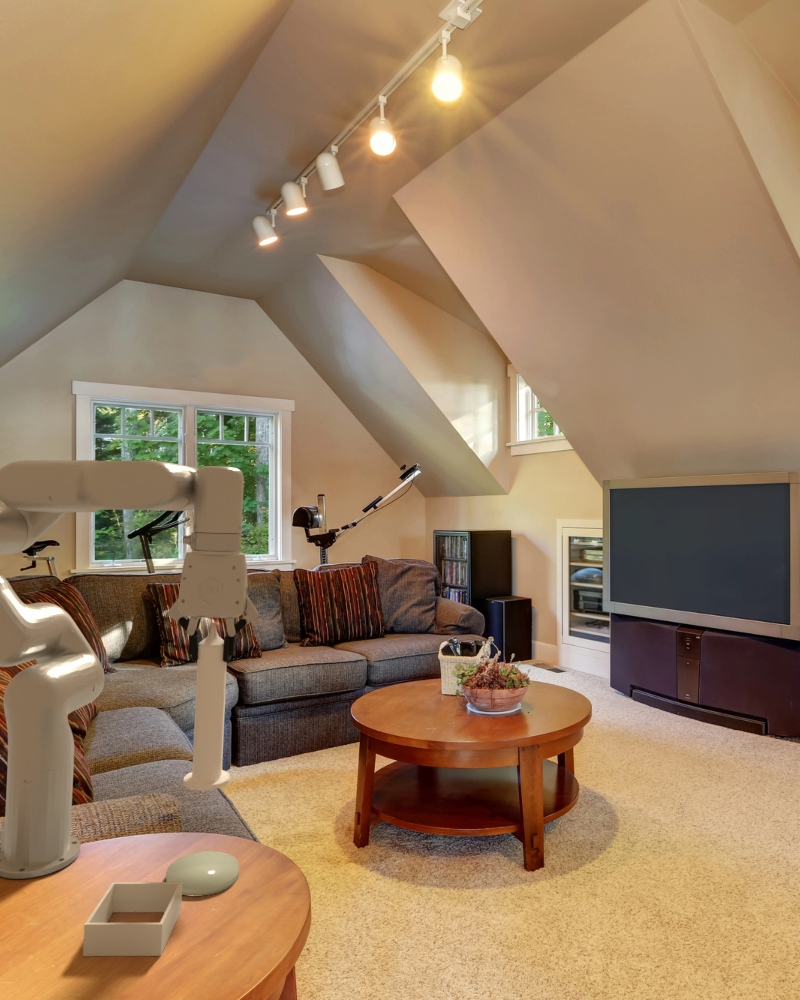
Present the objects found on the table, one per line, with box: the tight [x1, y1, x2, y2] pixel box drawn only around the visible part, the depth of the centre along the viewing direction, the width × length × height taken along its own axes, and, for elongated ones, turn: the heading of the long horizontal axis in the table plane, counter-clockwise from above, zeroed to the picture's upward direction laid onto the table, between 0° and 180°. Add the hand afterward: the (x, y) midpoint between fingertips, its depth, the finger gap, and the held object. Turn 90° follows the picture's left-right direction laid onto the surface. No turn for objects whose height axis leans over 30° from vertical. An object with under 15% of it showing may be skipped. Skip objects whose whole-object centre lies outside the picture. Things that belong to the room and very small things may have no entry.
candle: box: [182, 622, 231, 792], centre depth 105 cm, size 7×7×25 cm
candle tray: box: [82, 881, 183, 957], centre depth 91 cm, size 10×10×4 cm
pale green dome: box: [165, 850, 240, 896], centre depth 105 cm, size 11×11×1 cm
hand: (211, 658), depth 105 cm, fingers closed on candle, 4 cm apart
